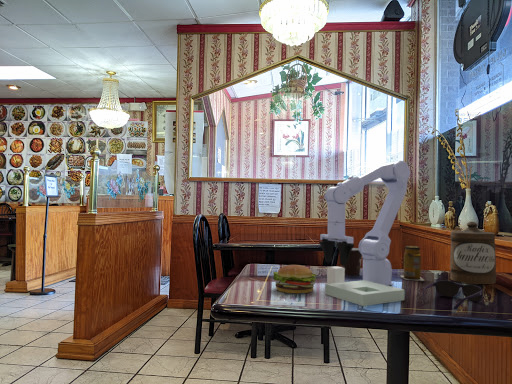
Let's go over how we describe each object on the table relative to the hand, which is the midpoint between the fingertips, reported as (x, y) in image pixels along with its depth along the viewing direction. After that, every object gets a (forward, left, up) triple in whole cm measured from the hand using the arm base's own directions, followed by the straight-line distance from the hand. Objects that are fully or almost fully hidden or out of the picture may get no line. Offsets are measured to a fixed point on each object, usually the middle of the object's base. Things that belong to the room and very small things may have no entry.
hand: (335, 263), depth 131 cm
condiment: (-38, -1, -8) cm, 39 cm away
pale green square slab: (+2, +15, -8) cm, 17 cm away
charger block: (0, 0, -8) cm, 8 cm away
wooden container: (-55, +12, -8) cm, 57 cm away
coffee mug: (-21, -17, -8) cm, 28 cm away
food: (+15, -2, -8) cm, 17 cm away
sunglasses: (-17, +30, -8) cm, 35 cm away
